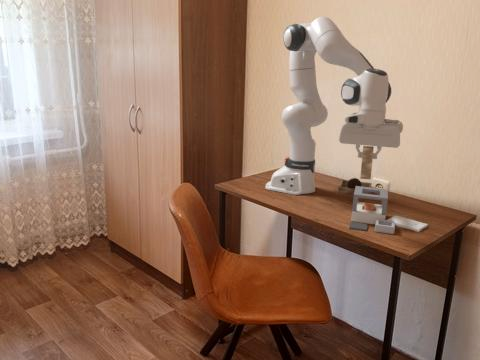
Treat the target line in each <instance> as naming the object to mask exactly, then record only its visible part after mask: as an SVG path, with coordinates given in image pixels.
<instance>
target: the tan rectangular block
mask: <svg viewBox="0 0 480 360" xmlns="http://www.w3.org/2000/svg"><path fill="white" fill-rule="evenodd" d="M362 146H363V147H362V152H363V154H362V158H361V166H360V168H361V169H360V175H359V176H360V179H361V180H362V179H363V180H371V178H372V170H373V160H374V159H373V153H374V148H375V146H368V145H362ZM360 179H359V180H360Z"/></svg>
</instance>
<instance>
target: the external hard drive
mask: <svg viewBox="0 0 480 360" xmlns="http://www.w3.org/2000/svg"><path fill="white" fill-rule="evenodd" d="M387 220H389V221H395V226H397V227H401V228H404V229H407V230H410V231H411V230H412V231H415V232H418V233H419V232H421V231H422V230H423V229H426V228H428V225H429V224H428V223H424V222H421V221H417V220H414V219H411V218H407V217H403V216H400V215H396V214H395V215H394V216H392V217H390V218H388V219H387Z"/></svg>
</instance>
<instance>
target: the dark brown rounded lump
mask: <svg viewBox="0 0 480 360" xmlns="http://www.w3.org/2000/svg"><path fill="white" fill-rule="evenodd" d="M361 182H362V181H361V180H360V179H358V178H356V177H352V178H350V179H349V181H348V183H347V186H346V188H353V189H355V187H356V186H361Z"/></svg>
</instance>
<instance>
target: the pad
mask: <svg viewBox="0 0 480 360" xmlns="http://www.w3.org/2000/svg"><path fill="white" fill-rule="evenodd" d="M349 229H350V230H356V231H363V232H364V231H365V232H367V230H368V223H360V222H353V221H350V223H349Z"/></svg>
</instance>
